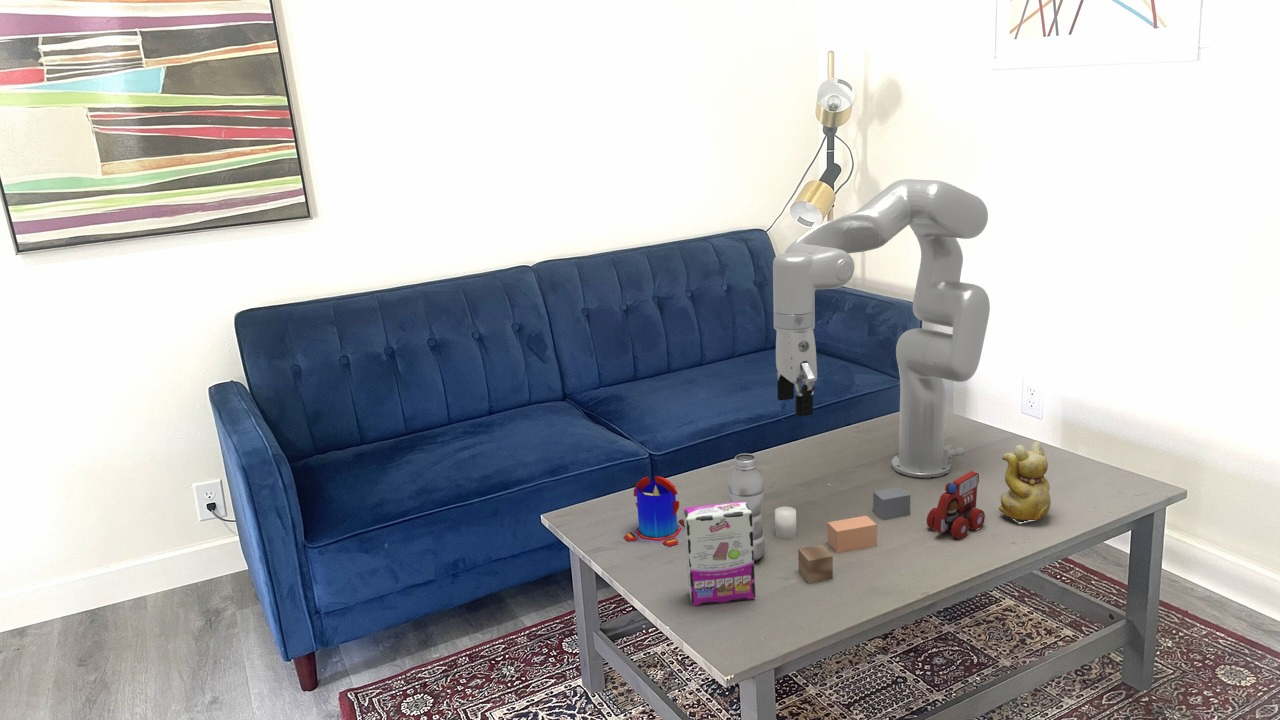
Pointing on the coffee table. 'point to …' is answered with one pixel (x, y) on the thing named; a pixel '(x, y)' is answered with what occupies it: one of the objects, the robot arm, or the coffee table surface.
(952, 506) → the toy fire truck
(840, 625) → the coffee table surface
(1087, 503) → the coffee table surface
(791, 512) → the cream cylinder
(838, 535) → the terracotta long brick
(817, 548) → the walnut square block
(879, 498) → the grey short brick
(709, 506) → the candy bar box
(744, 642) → the coffee table surface
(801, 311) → the robot arm
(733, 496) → the plastic bottle
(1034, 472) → the decorative figurine
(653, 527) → the fantasy tower
